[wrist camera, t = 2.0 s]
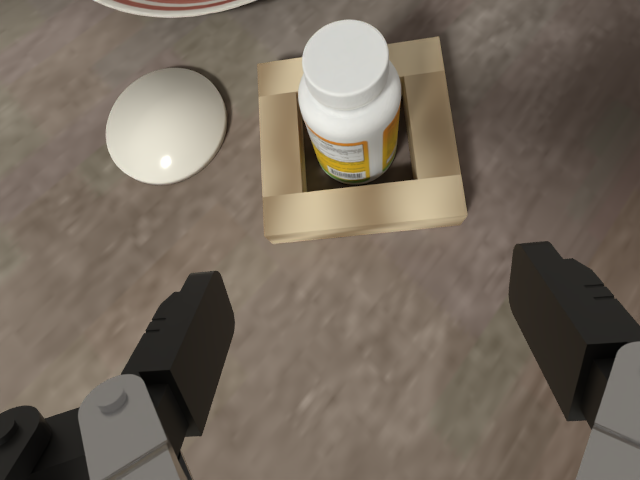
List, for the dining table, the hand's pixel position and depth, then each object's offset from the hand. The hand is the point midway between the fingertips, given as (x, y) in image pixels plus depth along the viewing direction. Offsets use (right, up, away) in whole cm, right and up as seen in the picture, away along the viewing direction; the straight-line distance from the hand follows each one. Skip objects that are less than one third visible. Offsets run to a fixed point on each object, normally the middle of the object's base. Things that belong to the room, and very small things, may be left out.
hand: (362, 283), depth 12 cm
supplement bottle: (+1, +7, +17) cm, 18 cm away
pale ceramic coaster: (-12, +9, +19) cm, 24 cm away
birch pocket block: (+1, +7, +17) cm, 18 cm away
